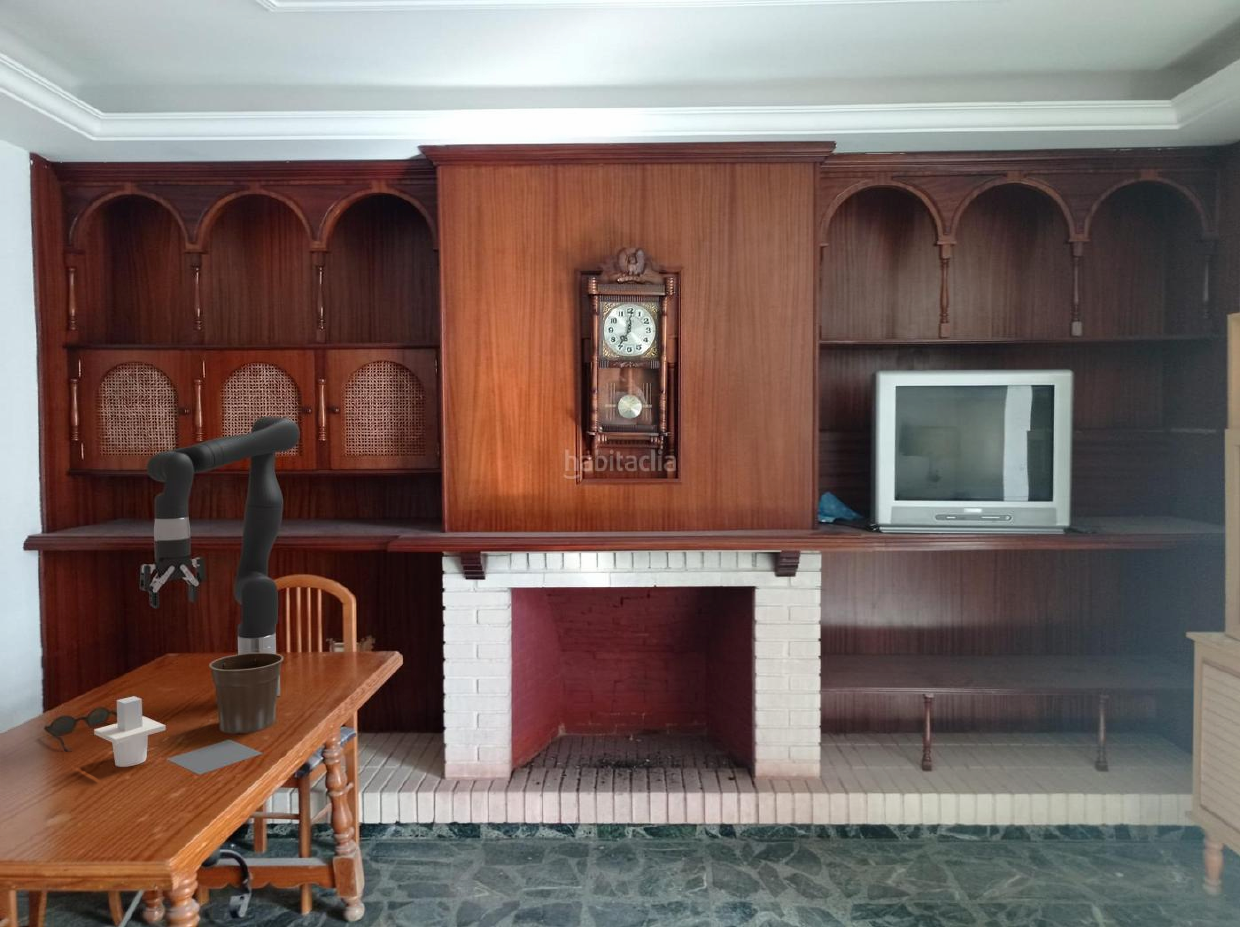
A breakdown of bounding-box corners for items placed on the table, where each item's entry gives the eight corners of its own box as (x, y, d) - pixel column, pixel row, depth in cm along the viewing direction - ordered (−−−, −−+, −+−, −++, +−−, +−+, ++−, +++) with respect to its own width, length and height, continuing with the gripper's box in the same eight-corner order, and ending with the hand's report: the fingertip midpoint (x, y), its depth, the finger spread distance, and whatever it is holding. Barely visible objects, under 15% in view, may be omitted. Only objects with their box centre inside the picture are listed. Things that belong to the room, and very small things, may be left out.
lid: (143, 720, 186) (142, 689, 185) (165, 729, 180) (164, 697, 179) (94, 733, 177) (93, 701, 177) (115, 744, 172) (114, 710, 171)
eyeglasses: (113, 722, 206) (112, 702, 205) (138, 736, 196) (137, 715, 196) (44, 740, 194) (43, 718, 194) (67, 755, 185) (66, 733, 185)
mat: (229, 741, 191) (229, 739, 191) (263, 755, 183) (263, 753, 183) (166, 761, 180) (166, 758, 180) (199, 777, 172) (199, 774, 172)
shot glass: (132, 771, 175) (131, 738, 175) (104, 769, 176) (103, 736, 176) (156, 759, 182) (156, 727, 181) (129, 756, 183) (128, 725, 183)
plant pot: (253, 711, 212) (251, 648, 211) (299, 720, 205) (298, 656, 204) (195, 732, 197) (193, 665, 197) (243, 743, 190) (241, 673, 190)
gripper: (194, 532, 205) (196, 597, 206) (133, 538, 194) (135, 608, 195) (210, 534, 201) (212, 601, 202) (148, 541, 190) (150, 612, 190)
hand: (174, 604), depth 198 cm, fingers open, 8 cm apart
